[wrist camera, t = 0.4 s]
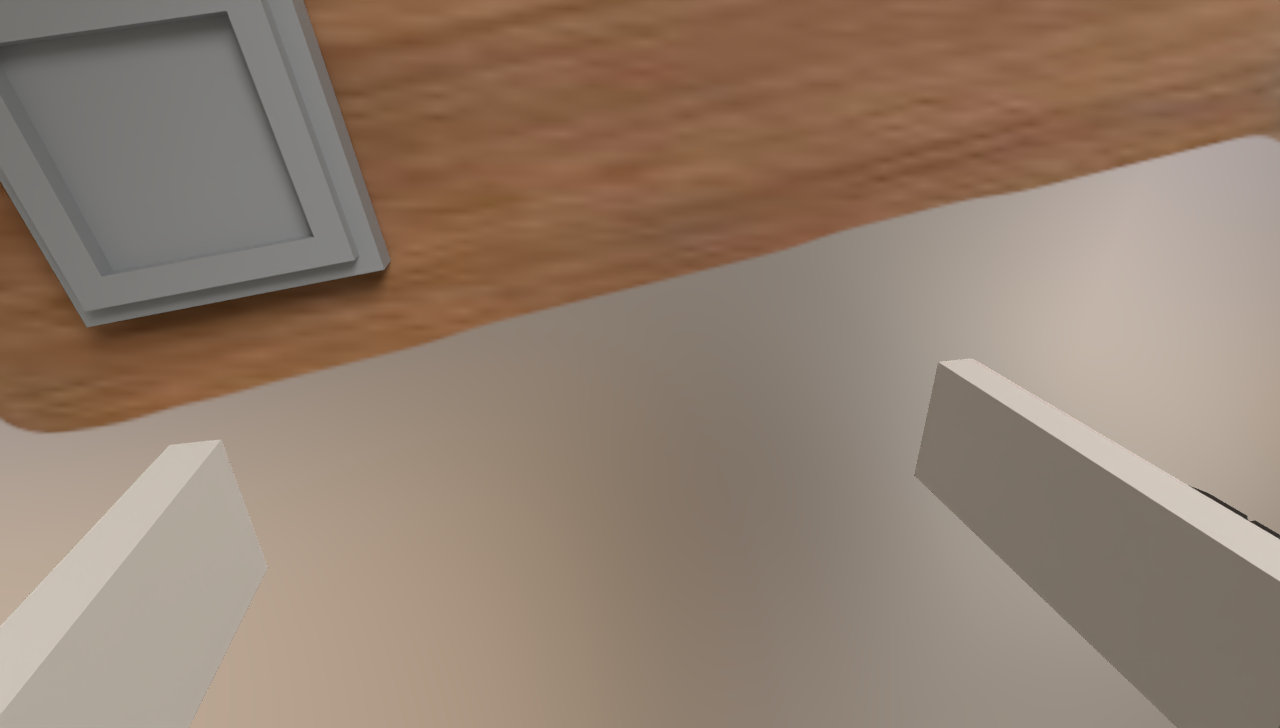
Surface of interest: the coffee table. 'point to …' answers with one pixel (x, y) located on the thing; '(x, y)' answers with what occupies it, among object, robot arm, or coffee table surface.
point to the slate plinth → (178, 152)
